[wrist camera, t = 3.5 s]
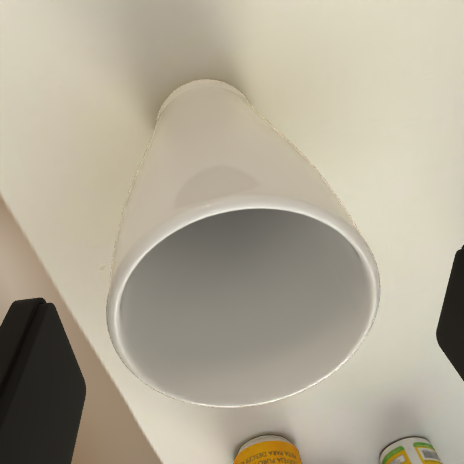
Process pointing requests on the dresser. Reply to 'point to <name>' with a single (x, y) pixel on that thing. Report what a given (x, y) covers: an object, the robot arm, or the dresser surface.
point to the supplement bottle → (410, 452)
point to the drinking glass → (234, 260)
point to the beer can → (268, 451)
